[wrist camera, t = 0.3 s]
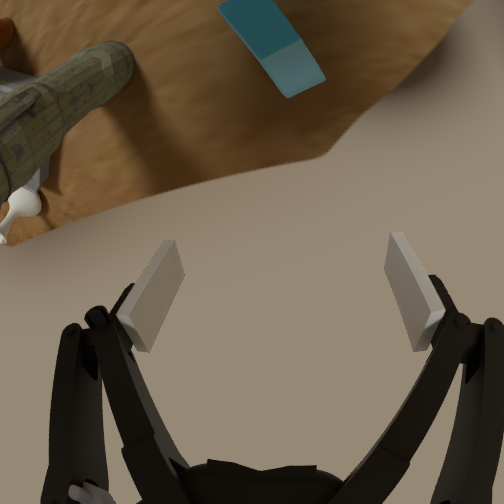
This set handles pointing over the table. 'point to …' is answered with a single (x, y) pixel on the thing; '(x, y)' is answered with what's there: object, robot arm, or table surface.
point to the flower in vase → (19, 209)
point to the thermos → (56, 108)
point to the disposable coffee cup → (6, 32)
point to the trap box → (3, 83)
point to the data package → (273, 44)
